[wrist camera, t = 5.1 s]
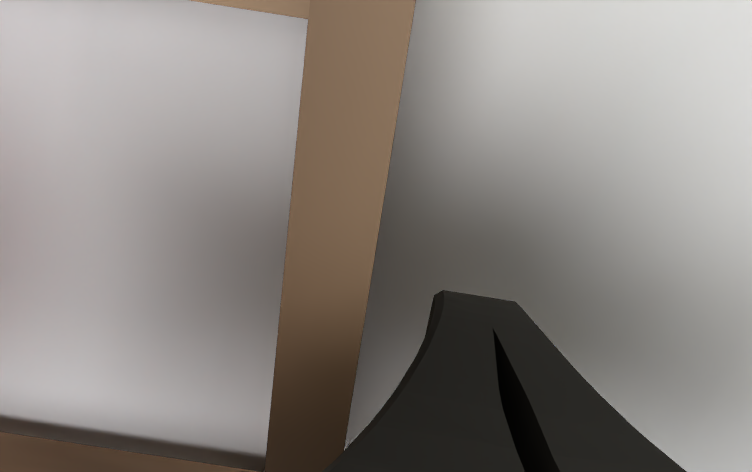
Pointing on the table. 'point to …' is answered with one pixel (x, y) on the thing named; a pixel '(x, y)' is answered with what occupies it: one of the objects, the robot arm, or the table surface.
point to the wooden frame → (306, 242)
